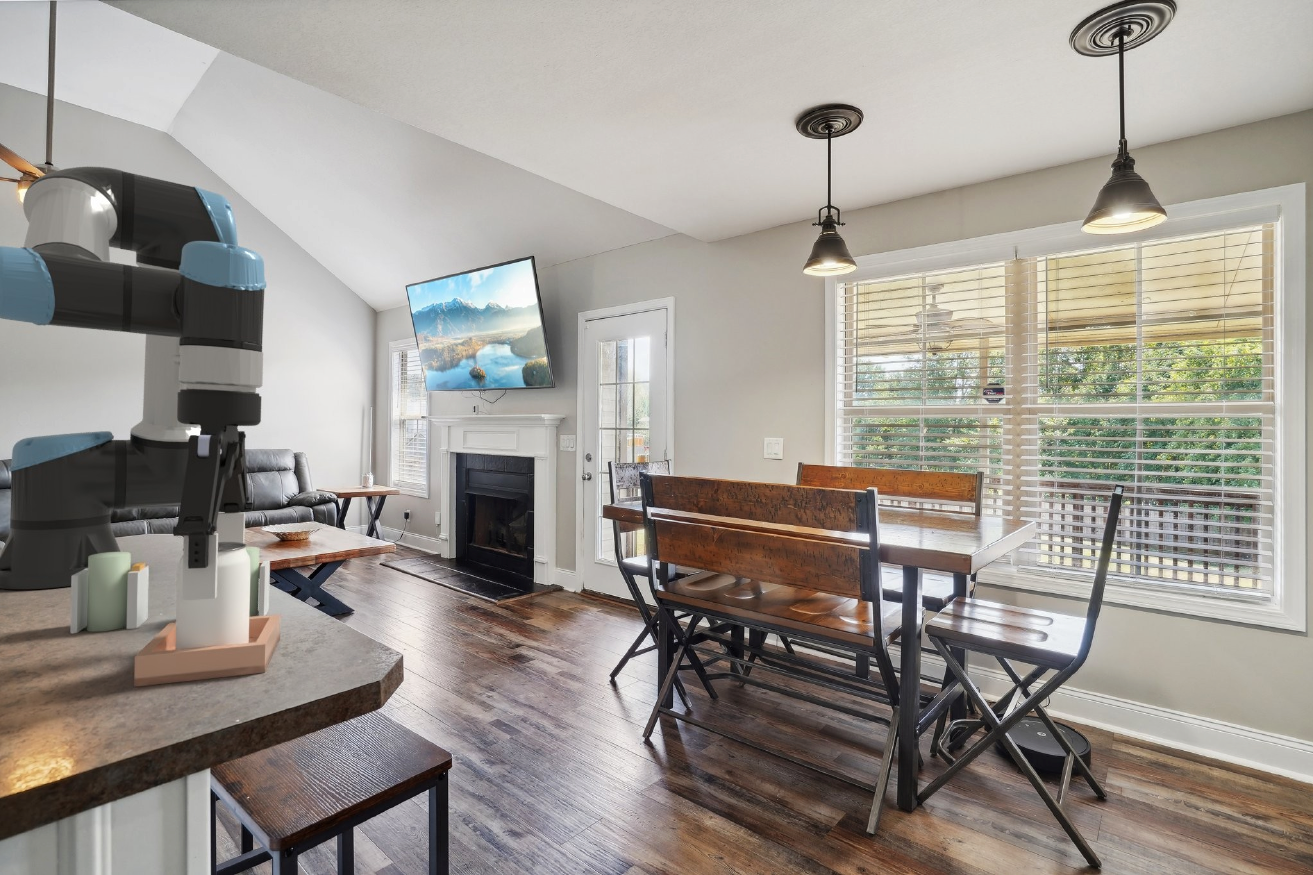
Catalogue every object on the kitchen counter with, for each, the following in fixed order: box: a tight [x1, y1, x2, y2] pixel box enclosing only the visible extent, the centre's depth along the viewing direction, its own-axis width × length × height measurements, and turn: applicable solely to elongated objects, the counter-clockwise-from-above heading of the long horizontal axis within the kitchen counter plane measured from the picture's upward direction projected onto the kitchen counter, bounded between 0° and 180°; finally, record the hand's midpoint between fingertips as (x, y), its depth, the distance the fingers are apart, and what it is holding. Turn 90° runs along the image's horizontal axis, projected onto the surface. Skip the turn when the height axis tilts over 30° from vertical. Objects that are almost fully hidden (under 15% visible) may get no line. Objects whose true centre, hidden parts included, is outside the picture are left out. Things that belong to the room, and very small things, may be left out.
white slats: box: [69, 559, 271, 634], centre depth 81 cm, size 4×20×8 cm, turn 114°
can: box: [175, 542, 250, 650], centre depth 67 cm, size 6×6×12 cm
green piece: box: [245, 546, 260, 617], centre depth 84 cm, size 4×4×9 cm
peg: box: [86, 551, 132, 632], centre depth 78 cm, size 4×4×9 cm
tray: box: [133, 613, 282, 688], centre depth 69 cm, size 11×11×3 cm
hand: (216, 581), depth 69 cm, fingers open, 13 cm apart
